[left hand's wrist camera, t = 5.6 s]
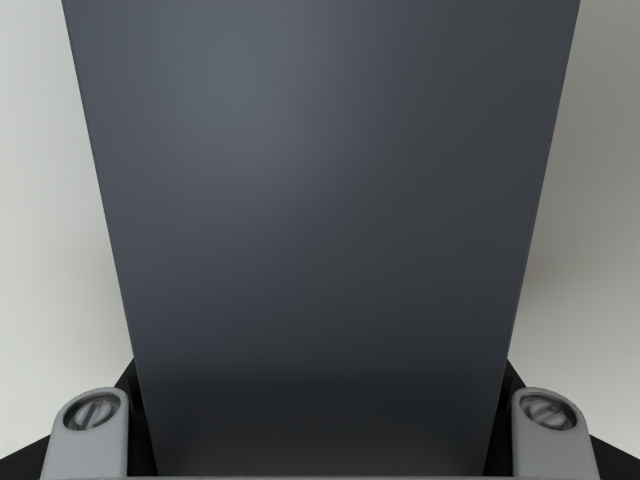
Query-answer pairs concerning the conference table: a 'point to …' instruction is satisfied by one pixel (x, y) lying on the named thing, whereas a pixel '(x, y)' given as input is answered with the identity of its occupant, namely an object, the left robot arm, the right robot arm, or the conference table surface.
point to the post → (320, 219)
